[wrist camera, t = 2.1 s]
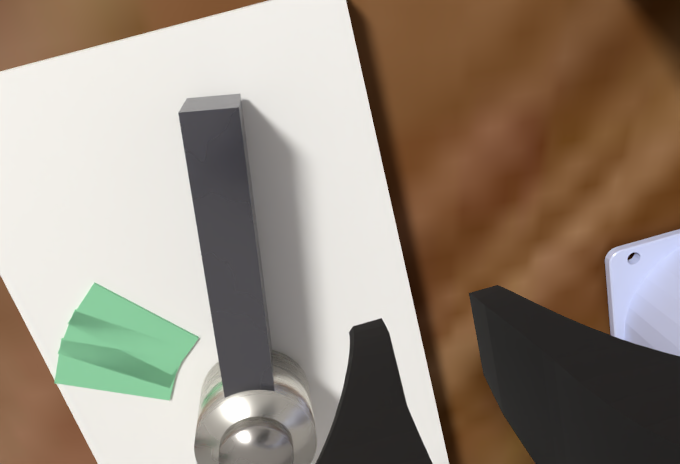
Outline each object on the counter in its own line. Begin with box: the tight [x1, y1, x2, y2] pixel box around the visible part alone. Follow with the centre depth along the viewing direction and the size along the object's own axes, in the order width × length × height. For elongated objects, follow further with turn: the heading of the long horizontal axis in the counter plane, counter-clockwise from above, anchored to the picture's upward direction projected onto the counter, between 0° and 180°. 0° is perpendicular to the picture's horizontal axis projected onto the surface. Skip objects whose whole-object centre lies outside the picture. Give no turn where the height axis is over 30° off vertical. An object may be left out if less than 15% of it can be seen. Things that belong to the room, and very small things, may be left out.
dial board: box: [0, 0, 449, 464], centre depth 24 cm, size 13×26×2 cm, turn 14°
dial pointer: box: [178, 94, 317, 464], centre depth 19 cm, size 13×4×3 cm, turn 4°
